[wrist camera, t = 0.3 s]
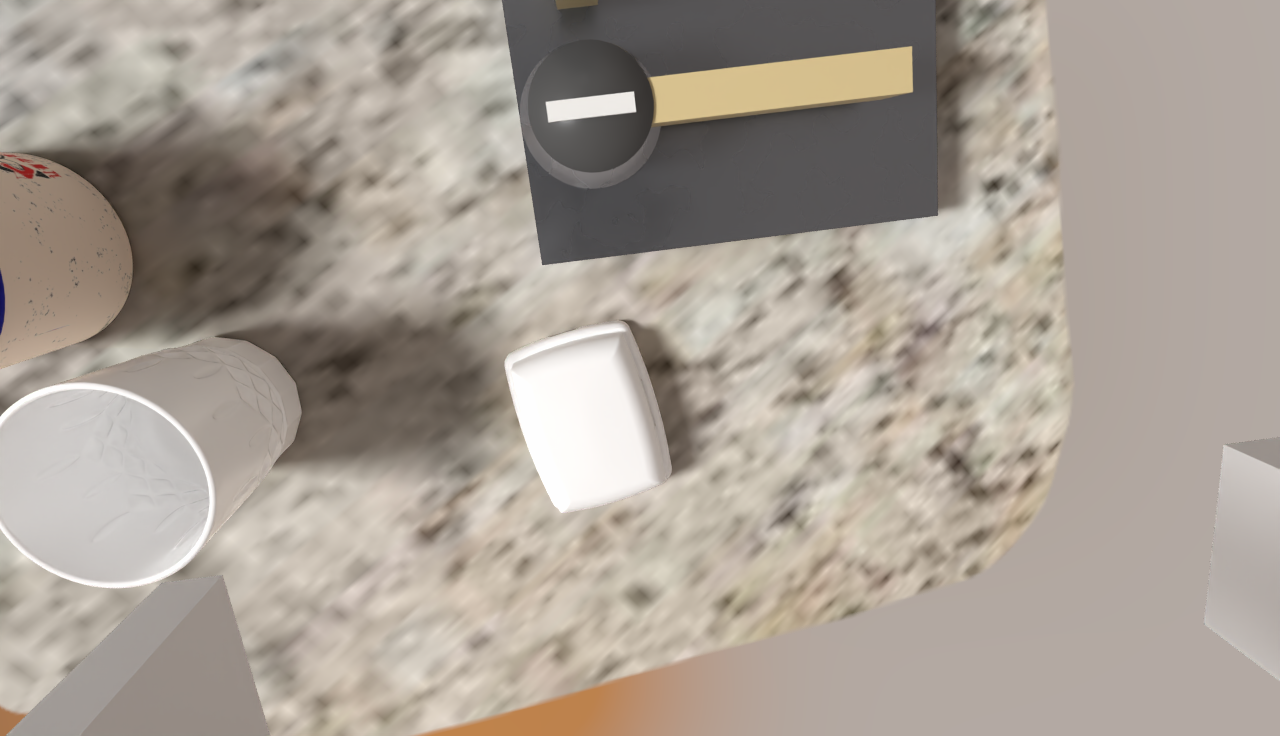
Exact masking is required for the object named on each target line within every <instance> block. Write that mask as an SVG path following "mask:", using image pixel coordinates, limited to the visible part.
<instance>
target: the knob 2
mask: <svg viewBox="0 0 1280 736" xmlns="http://www.w3.org/2000/svg"><path fill="white" fill-rule="evenodd" d="M911 92H913V71H912V46H910V47H902V48H893V49H885V50H876V51H868V52H860V53H851V54H843V55H834V56H826V57H817V58H809V59H800V60H792V61H783V62H775V63H767V64H758V65H750V66H741V67H733V68H724V69H716V70H707V71H699V72H690V73H682V74H674V75H665V76H657V77H648V78H647V76H646V74H645V72H644V71H643V69H642V67H641V66H640V65H639V64H638V62H637V61H636V60H635V59H634V58H633V57H632V56H631V55H630V54H628V53H627V52H626V51H624V50H623V49H621V48H619V47H618V46H616V45H613V44H611V43H608V42H605V41H601V40H592V39H589V40H579V41H574V42H571V43H568V44H565V45H563V46H561V47H559V48H558V49H556V50H555V51H553V52H552V53H551V54H550V55H549V56H548V57H547V58H545V60H544V61H543V62H542V63H541V65H540V66H539V68H538V69H537V71H536V72H535V75H534V77H533V79H532V82H531V85H530V88H529V94H528V116H529V121H530V125H531V127H532V130H533V133H534V135H535V137H536V139H537V141H538V142H539V144H540V145H541V147H542V148H543V149H544V150H545V151H546V153H547V154H549V155H550V156H551V157H552V158H553V159H554V160H556V161H557V162H559V163H560V164H562V165H564V166H566V167H568V168H570V169H573V170H576V171H581V172H589V173H595V172H603V171H608V170H611V169H614V168H616V167H618V166H620V165H622V164H624V163H625V162H627V161H628V160H630V159H631V158H632V157H633V156H634V155H635V154H636V153H637V152H638V151H639V149H640V148H641V147H642V145H643V144H644V142H645V141H646V138H647V136H648V134H649V132H650V129H651V127H659V126H667V125H675V124H683V123H692V122H700V121H708V120H717V119H725V118H733V117H742V116H750V115H758V114H767V113H775V112H783V111H792V110H800V109H808V108H816V107H825V106H833V105H841V104H850V103H858V102H866V101H875V100H882V99H886V98H890V97H895V96H899V95H903V94H907V93H911Z"/></svg>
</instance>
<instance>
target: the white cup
mask: <svg viewBox="0 0 1280 736" xmlns="http://www.w3.org/2000/svg"><path fill="white" fill-rule="evenodd" d="M301 415H302V409H301V405H300V400H299V396H298V391H297V387H296V383H295V381H294V380H293V379H292V377H291V376H290V375H289V374H288V372H287V371H286V370H285V368H284V367H283V366H282V364H281V363H280V362H279V361H278V359H277V358H276V357H275V356H273V355H271V354H269V353H268V352H266V351H264V350H262V349H261V348H259V347H257V346H255V345H253V344H252V343H250V342H248V341H246V340H238V339H229V338H220V337H209V338H206V339H203V340H200V341H197V342H194V343H191V344H188V345H186V346H182V347H178V348H167V349H163V350H160V351H157V352H154V353H150V354H146V355H142V356H139V357H137V358H134V359H131V360H128V361H125V362H122V363H119V364H116V365H113V366H109V367H106V368H103V369H100V370H97V371H94V372H91V373H88V374H85V375H82V376H79V377H76V378H73V379H70V380H67V381H64V382H61V383H58V384H55V385H52V386H49V387H46V388H43V389H40V390H37V391H35V392H33V393H31V394H29V395H27V396H25V397H23V398H22V399H20V400H18V401H17V402H16V403H14V404H13V405H12V406H11V407H9V408H8V409H7V410H6V411H5V412H4V413H3V414H2V415H1V417H0V529H1V530H2V532H3V533H4V534H5V535H6V537H7V538H8V539H9V540H10V541H11V542H12V544H13V545H14V546H15V547H16V548H17V549H19V550H20V551H21V552H22V553H23V554H24V555H25V556H27V557H28V558H29V559H31V560H32V561H33V562H35V563H36V564H38V565H39V566H41V567H43V568H44V569H46V570H48V571H50V572H52V573H54V574H56V575H58V576H60V577H63V578H65V579H68V580H71V581H74V582H77V583H81V584H85V585H89V586H95V587H103V588H129V587H137V586H142V585H146V584H150V583H153V582H156V581H159V580H161V579H164V578H166V577H168V576H170V575H172V574H174V573H175V572H177V571H178V570H180V569H181V568H183V567H184V566H185V565H187V564H188V563H189V562H190V561H191V560H192V559H193V558H194V557H195V556H196V555H197V554H198V553H199V551H200V550H201V549H202V548H203V547H204V546H205V545H206V544H207V542H208V541H209V540H210V539H211V538H212V537H213V536H214V535H215V534H216V532H217V531H218V530H219V529H220V528H221V527H222V526H223V525H224V524H225V522H226V521H227V520H228V519H229V518H230V517H231V516H232V515H233V514H234V513H235V511H236V510H237V509H238V508H239V507H240V506H241V505H242V504H243V502H244V501H245V500H246V499H247V498H248V497H249V496H250V495H251V494H252V492H253V491H254V490H255V489H256V488H257V486H258V485H259V484H260V483H261V481H262V480H263V479H264V478H265V476H266V475H267V474H268V473H269V472H270V470H271V468H272V466H273V465H274V463H275V461H276V460H277V459H278V458H279V456H280V455H281V454H282V453H283V452H284V451H285V450H286V449H287V448H288V447H289V446H290V445H291V444H292V443H293V441H294V440H295V436H296V433H297V429H298V426H299V422H300V419H301Z"/></svg>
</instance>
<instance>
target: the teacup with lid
mask: <svg viewBox="0 0 1280 736" xmlns="http://www.w3.org/2000/svg"><path fill="white" fill-rule="evenodd" d="M132 277H133V258H132V252H131V247H130V243H129V239H128V236H127V234H126V231H125V229H124V227H123V225H122V222H121V220H120V219H119V217H118V215H117V214H116V212H115V211H114V209H113V208H112V206H111V205H110V204H109V202H108V201H107V200H106V199H105V198H104V196H103V195H102V194H101V193H100V192H99V191H98V190H97V189H96V188H95V187H93V186H92V185H91V184H90V183H89V182H88V181H86V180H85V179H83V178H82V177H81V176H79V175H78V174H76V173H75V172H73V171H71V170H70V169H68V168H66V167H64V166H62V165H60V164H58V163H56V162H53V161H50V160H48V159H45V158H41V157H38V156H33V155H28V154H22V153H7V152H0V369H2V368H5V367H8V366H11V365H14V364H17V363H20V362H23V361H26V360H28V359H31V358H34V357H37V356H40V355H43V354H46V353H49V352H52V351H55V350H58V349H61V348H64V347H67V346H70V345H73V344H75V343H78V342H81V341H84V340H86V339H88V338H90V337H92V336H94V335H95V334H97V333H99V332H100V331H102V330H103V329H104V328H106V327H107V326H108V325H109V324H110V323H111V322H112V321H113V320H114V319H115V317H116V316H117V315H118V314H119V312H120V311H121V309H122V307H123V305H124V304H125V302H126V299H127V297H128V294H129V291H130V288H131V283H132Z"/></svg>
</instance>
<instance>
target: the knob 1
mask: <svg viewBox="0 0 1280 736" xmlns="http://www.w3.org/2000/svg"><path fill="white" fill-rule="evenodd" d="M555 1H556V6H557V10H558V9H567V8H576V7H585V6H593V5H598V0H555Z"/></svg>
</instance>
